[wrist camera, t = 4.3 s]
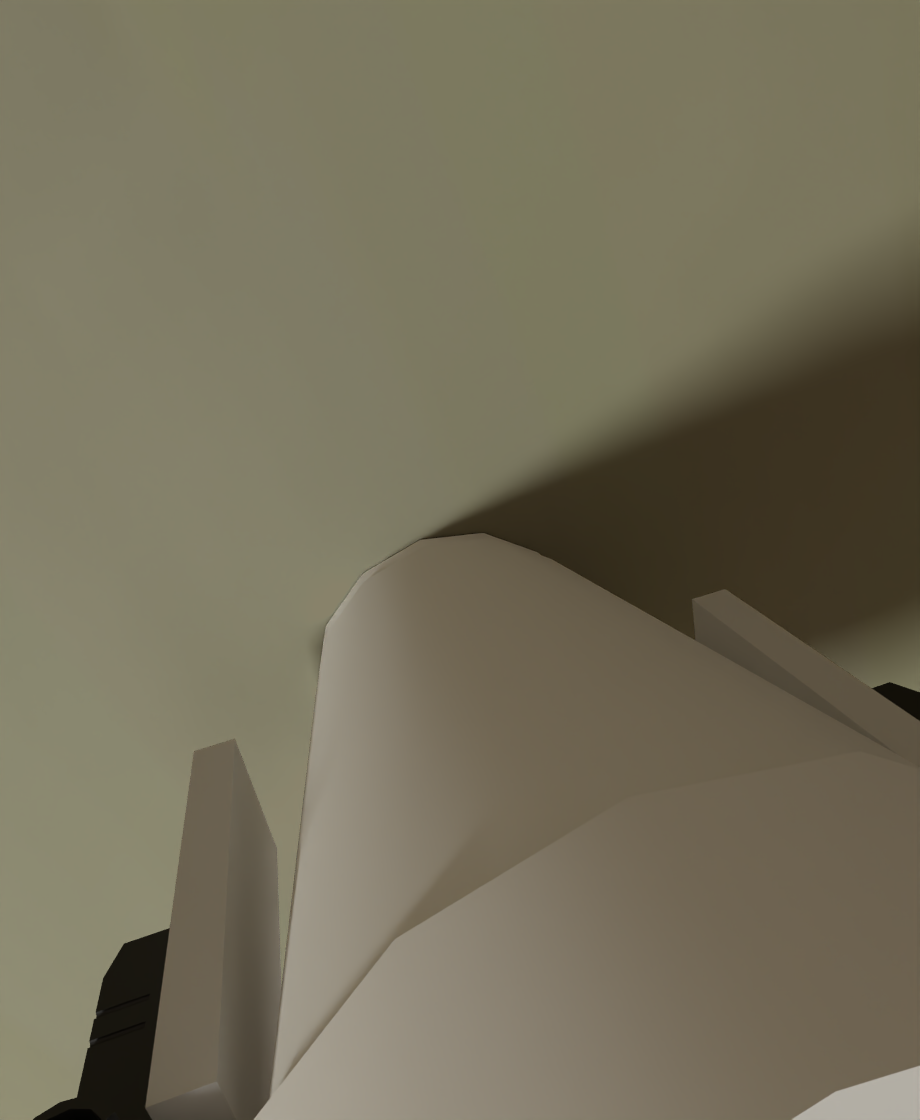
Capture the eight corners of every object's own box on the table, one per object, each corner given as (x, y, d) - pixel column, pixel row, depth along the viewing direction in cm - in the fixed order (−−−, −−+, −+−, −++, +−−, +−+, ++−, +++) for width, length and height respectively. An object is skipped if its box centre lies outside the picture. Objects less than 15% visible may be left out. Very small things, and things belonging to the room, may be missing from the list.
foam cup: (709, 653, 19) (1427, 1261, 7) (440, 889, 20) (709, 1807, 8) (476, 368, 15) (1226, 696, 3) (149, 673, 16) (-178, 1858, 4)
